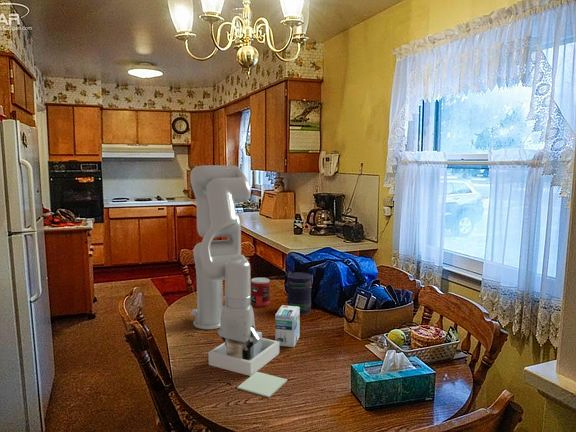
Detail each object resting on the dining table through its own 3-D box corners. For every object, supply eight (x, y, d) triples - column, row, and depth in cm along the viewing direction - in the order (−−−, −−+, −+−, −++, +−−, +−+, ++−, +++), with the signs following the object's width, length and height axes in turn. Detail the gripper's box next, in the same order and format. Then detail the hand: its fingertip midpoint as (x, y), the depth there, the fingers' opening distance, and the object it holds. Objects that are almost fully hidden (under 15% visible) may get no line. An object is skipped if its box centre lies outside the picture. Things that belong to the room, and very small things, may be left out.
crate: (208, 364, 134) (208, 352, 133) (240, 344, 148) (240, 332, 148) (250, 376, 127) (250, 362, 126) (279, 353, 142) (279, 341, 141)
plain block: (240, 356, 140) (239, 335, 139) (248, 350, 144) (248, 329, 143) (253, 359, 137) (253, 338, 136) (261, 353, 142) (261, 332, 141)
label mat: (237, 388, 120) (237, 386, 120) (256, 372, 129) (256, 371, 129) (269, 397, 115) (269, 396, 115) (287, 380, 124) (287, 379, 124)
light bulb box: (294, 347, 146) (294, 316, 145) (274, 346, 147) (274, 314, 146) (300, 335, 156) (300, 305, 155) (281, 333, 158) (281, 304, 156)
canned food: (250, 302, 193) (250, 277, 192) (269, 301, 194) (269, 277, 192) (251, 307, 185) (250, 282, 184) (270, 307, 186) (269, 282, 185)
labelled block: (226, 364, 134) (226, 342, 133) (236, 357, 138) (236, 335, 137) (240, 367, 131) (240, 345, 130) (250, 360, 136) (250, 339, 135)
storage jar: (315, 309, 184) (315, 274, 182) (303, 316, 175) (303, 279, 173) (294, 305, 189) (295, 271, 187) (282, 311, 181) (282, 276, 179)
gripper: (207, 300, 133) (208, 358, 135) (255, 309, 125) (255, 370, 127) (222, 293, 139) (222, 348, 142) (268, 302, 132) (268, 360, 134)
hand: (238, 358), depth 134 cm, fingers closed on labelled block, 5 cm apart
